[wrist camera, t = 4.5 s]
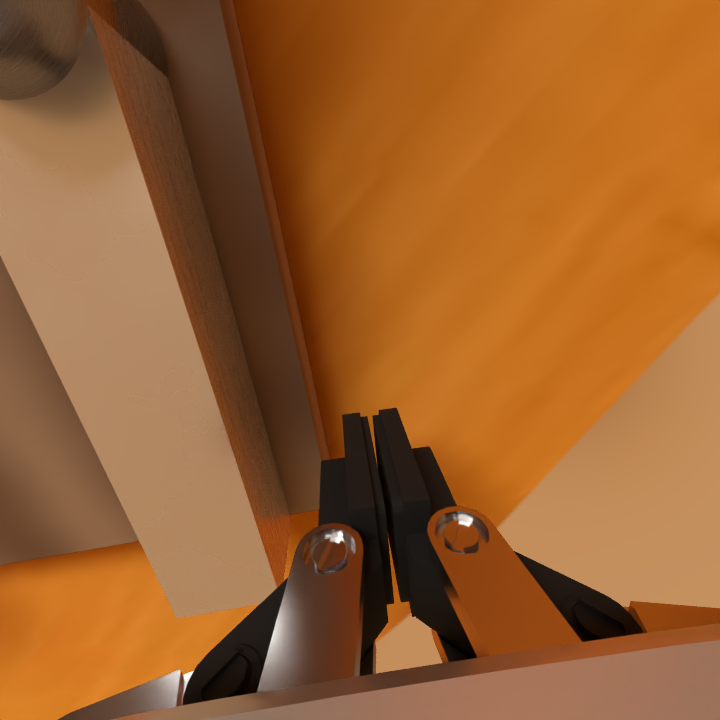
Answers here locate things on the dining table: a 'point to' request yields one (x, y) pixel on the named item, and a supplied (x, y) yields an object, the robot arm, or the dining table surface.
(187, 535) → the hinged leg
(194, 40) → the brown board with pegs
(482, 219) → the dining table surface
